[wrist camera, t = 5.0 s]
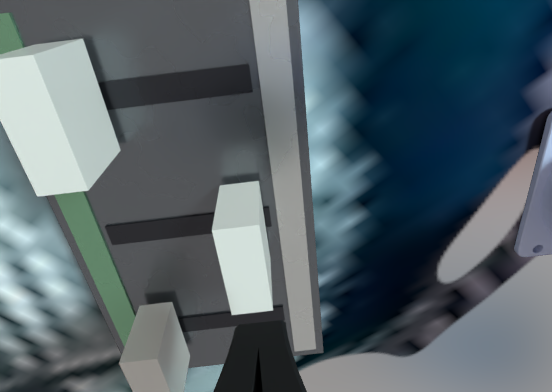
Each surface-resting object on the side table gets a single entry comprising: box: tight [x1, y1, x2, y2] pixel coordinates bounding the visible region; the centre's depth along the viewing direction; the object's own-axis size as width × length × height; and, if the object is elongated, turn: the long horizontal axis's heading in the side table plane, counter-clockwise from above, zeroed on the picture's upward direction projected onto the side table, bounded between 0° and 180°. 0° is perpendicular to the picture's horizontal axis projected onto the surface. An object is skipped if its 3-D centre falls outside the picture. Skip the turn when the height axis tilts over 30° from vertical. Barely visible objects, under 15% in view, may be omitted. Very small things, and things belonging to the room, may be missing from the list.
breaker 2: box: [119, 302, 190, 392], centre depth 18 cm, size 2×4×3 cm, turn 6°
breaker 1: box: [0, 39, 121, 197], centre depth 12 cm, size 2×4×3 cm, turn 7°
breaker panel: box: [0, 0, 323, 368], centre depth 17 cm, size 11×19×2 cm, turn 6°
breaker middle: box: [212, 181, 273, 315], centre depth 15 cm, size 2×4×3 cm, turn 6°
